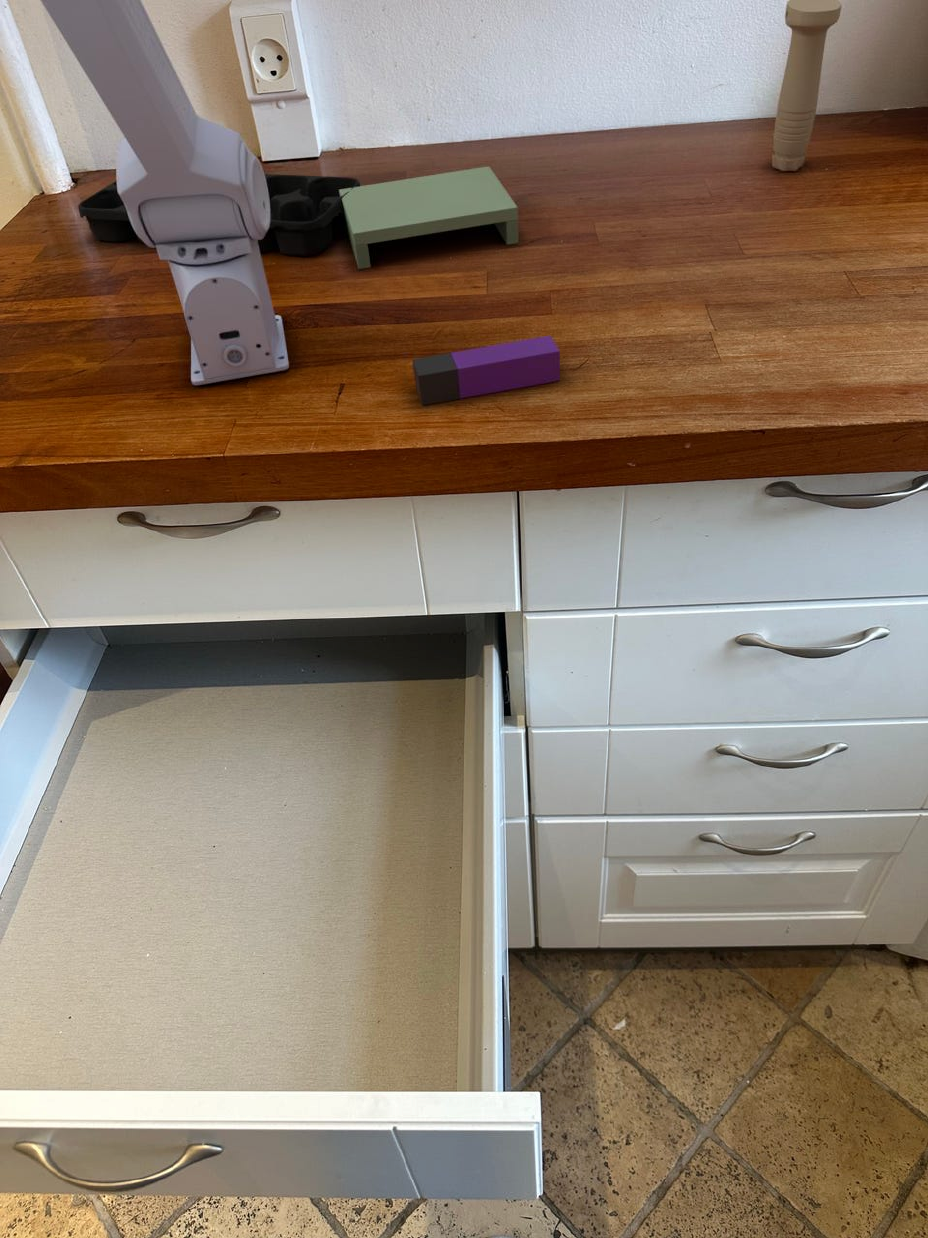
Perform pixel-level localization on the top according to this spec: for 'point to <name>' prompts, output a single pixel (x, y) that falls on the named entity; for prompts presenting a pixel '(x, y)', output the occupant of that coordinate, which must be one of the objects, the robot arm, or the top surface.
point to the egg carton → (296, 213)
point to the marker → (486, 370)
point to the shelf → (427, 208)
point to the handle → (801, 79)
